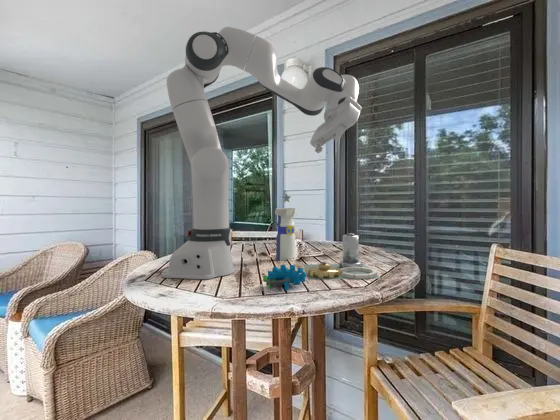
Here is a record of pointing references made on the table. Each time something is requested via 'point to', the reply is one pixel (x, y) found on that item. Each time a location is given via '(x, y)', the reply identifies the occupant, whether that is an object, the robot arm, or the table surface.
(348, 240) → the grey cylindrical peg
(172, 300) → the table surface
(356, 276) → the seat ring
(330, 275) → the brass gear
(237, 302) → the table surface
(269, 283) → the gear
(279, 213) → the white piece
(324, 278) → the gear board
